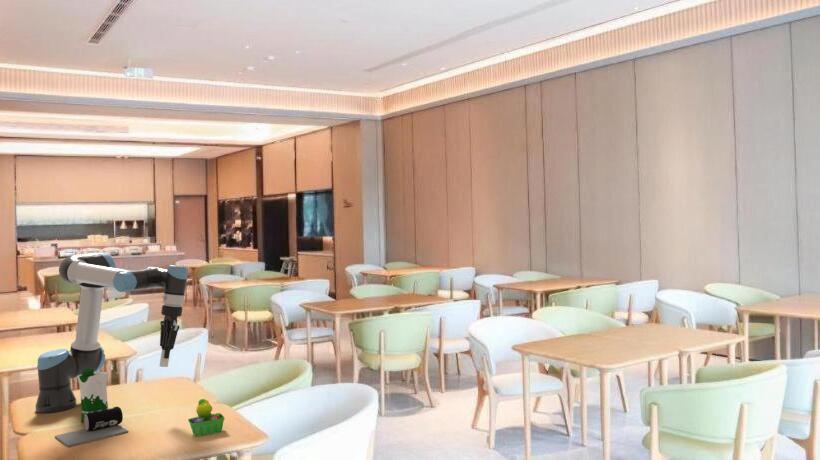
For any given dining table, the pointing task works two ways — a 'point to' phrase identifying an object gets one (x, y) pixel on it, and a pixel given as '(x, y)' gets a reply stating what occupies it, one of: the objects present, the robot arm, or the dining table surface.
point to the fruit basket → (206, 420)
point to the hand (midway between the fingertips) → (163, 366)
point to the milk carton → (92, 391)
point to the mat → (89, 435)
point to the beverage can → (103, 418)
